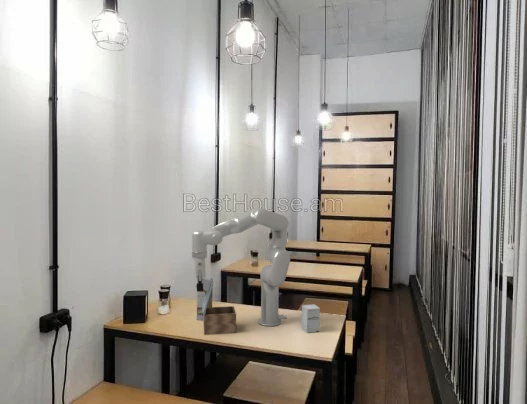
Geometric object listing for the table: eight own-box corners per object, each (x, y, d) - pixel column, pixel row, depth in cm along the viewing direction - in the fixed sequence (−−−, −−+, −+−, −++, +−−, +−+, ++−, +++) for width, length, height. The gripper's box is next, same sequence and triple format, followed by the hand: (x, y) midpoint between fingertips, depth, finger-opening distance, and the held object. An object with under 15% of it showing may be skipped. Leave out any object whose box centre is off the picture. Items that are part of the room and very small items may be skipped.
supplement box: (306, 333, 188) (306, 308, 187) (301, 328, 195) (301, 304, 195) (319, 332, 190) (320, 307, 189) (314, 327, 197) (314, 303, 196)
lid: (212, 278, 196) (198, 274, 194) (213, 283, 184) (198, 280, 182) (203, 307, 195) (189, 303, 194) (204, 314, 183) (189, 311, 182)
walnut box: (233, 324, 199) (233, 306, 198) (235, 332, 187) (236, 313, 187) (203, 326, 196) (203, 307, 195) (204, 334, 184) (204, 315, 184)
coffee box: (207, 321, 203) (207, 292, 203) (196, 320, 205) (196, 291, 204) (212, 315, 212) (213, 288, 212) (202, 314, 214) (202, 287, 213)
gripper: (207, 257, 181) (207, 294, 182) (206, 252, 196) (206, 286, 197) (192, 258, 180) (192, 295, 180) (192, 252, 195) (192, 286, 196)
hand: (199, 290), depth 189 cm, fingers closed
